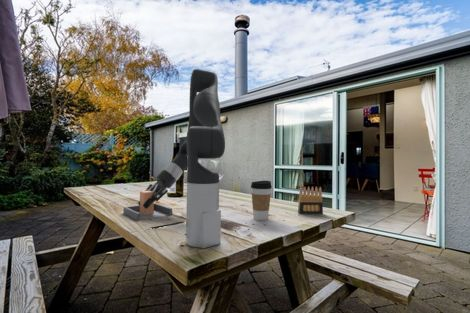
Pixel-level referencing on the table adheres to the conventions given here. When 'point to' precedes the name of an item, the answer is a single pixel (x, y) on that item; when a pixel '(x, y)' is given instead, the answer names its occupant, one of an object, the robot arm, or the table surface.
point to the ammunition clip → (310, 201)
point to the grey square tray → (158, 212)
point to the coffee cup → (261, 199)
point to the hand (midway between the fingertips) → (142, 206)
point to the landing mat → (167, 225)
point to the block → (143, 198)
